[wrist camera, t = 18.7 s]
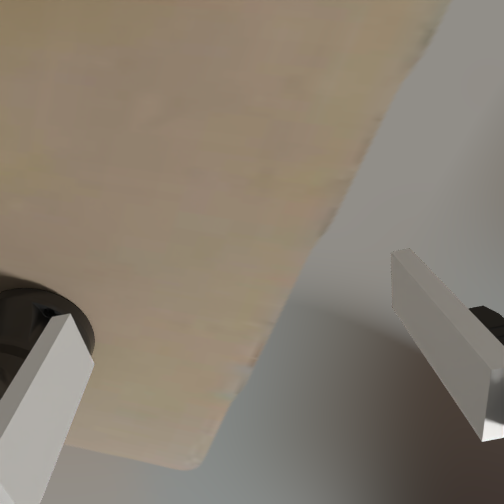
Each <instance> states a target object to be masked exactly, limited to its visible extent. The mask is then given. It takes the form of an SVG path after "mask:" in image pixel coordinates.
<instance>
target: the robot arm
mask: <svg viewBox="0 0 504 504" xmlns="http://www.w3.org/2000/svg"><path fill="white" fill-rule="evenodd" d="M391 275H392V276H391V277H392V278H391V279H392V308H393V309H394V311H395V313H396V314H397V315H398V317H399V318H400V320H401V322H402V323H403V325H404V326H405V328H406V329H407V331H408V332H409V333H410V335H411V337H412V338H413V340H414V341H415V342H416V344H417V346H418V347H419V348H420V350H421V352H422V353H423V355H424V356H425V357H426V359H427V360H428V362H429V363H430V365H431V366H432V368H433V369H434V371H435V372H436V374H437V375H438V377H439V378H440V380H441V381H442V382H443V384H444V386H445V387H446V389H447V390H448V392H449V393H450V395H451V396H452V397H453V399H454V401H455V402H456V404H457V405H458V407H459V408H460V410H461V411H462V412H463V414H464V416H465V417H466V418H467V420H468V421H469V423H470V424H471V426H472V427H473V429H474V430H475V432H476V433H477V435H478V436H479V438H480V439H481V441H482V442H483V441H488V440H493V439H499V438H504V318H503V317H502V316H501V315H500V314H499V313H496V312H495V311H493V310H491V309H489V308H487V307H485V306H479V307H474V308H469V309H468V308H467V307H466V306H465V305H464V304H463V303H462V302H461V301H460V300H459V299H458V298H457V297H456V296H455V295H454V294H453V293H452V291H451V290H450V289H449V288H448V287H447V286H446V285H445V284H444V283H443V282H442V281H441V280H440V279H439V278H438V277H437V276H436V275H435V274H434V273H433V272H432V271H431V270H430V269H429V268H428V267H427V265H425V263H424V262H423V261H422V260H421V259H420V258H419V257H418V256H417V255H416V254H415V253H414V252H413V251H412V250H411V249H410V248H408V249H403V250H398V251H393V252H391ZM94 345H95V338H94V332H93V329H92V326H91V324H90V322H89V321H88V319H87V318H86V316H85V315H84V314H83V313H82V312H81V311H80V310H79V309H78V308H77V307H76V306H75V305H74V304H72V303H71V302H69V301H68V300H66V299H64V298H62V297H60V296H58V295H56V294H53V293H50V292H47V291H43V290H38V289H30V288H20V289H12V290H7V291H4V292H1V293H0V504H40V502H41V499H42V497H43V494H44V492H45V489H46V487H47V484H48V482H49V479H50V477H51V474H52V472H53V469H54V467H55V464H56V461H57V459H58V456H59V453H60V451H61V449H62V446H63V444H64V441H65V438H66V436H67V433H68V431H69V428H70V426H71V423H72V421H73V418H74V415H75V413H76V410H77V408H78V405H79V403H80V400H81V398H82V395H83V392H84V390H85V387H86V385H87V382H88V380H89V377H90V375H91V372H92V369H93V367H94V362H93V360H92V358H91V355H92V353H93V350H94Z"/></svg>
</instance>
